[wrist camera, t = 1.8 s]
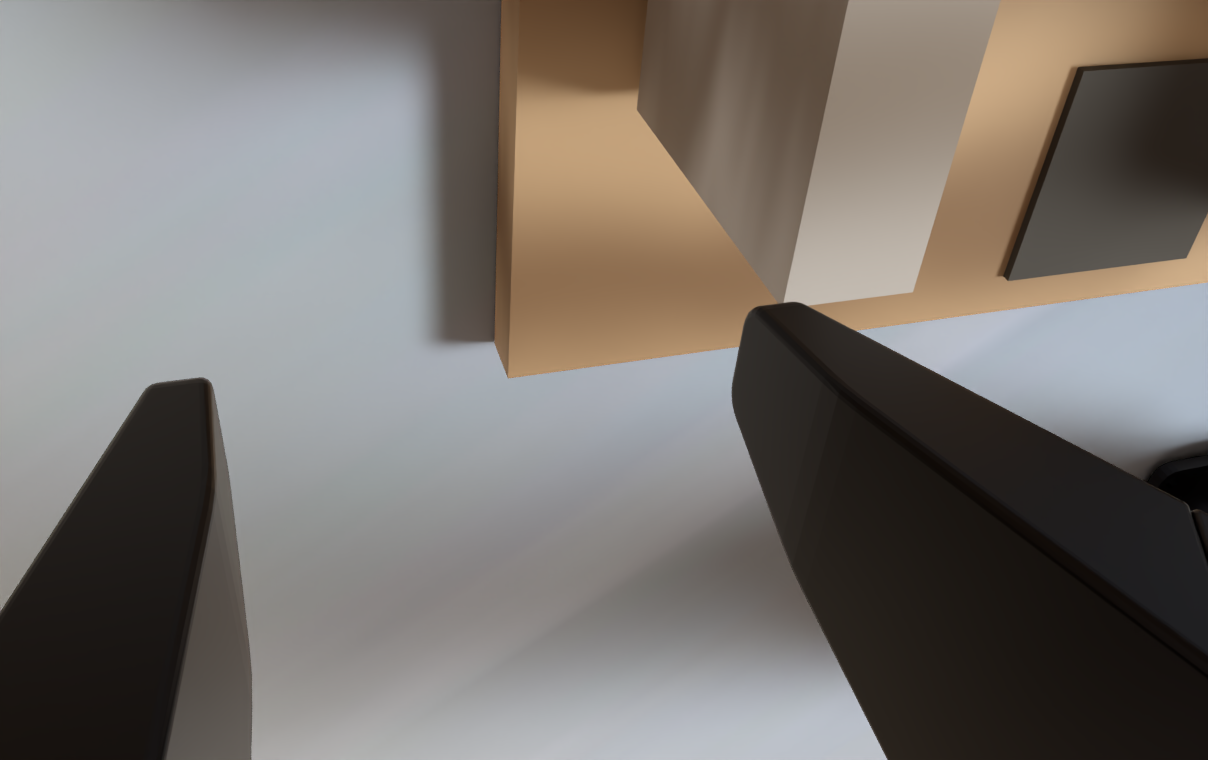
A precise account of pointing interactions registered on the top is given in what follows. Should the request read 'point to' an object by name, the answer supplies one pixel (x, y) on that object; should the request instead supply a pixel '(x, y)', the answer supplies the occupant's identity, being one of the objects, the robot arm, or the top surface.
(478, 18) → the top surface
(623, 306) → the base board
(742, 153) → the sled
